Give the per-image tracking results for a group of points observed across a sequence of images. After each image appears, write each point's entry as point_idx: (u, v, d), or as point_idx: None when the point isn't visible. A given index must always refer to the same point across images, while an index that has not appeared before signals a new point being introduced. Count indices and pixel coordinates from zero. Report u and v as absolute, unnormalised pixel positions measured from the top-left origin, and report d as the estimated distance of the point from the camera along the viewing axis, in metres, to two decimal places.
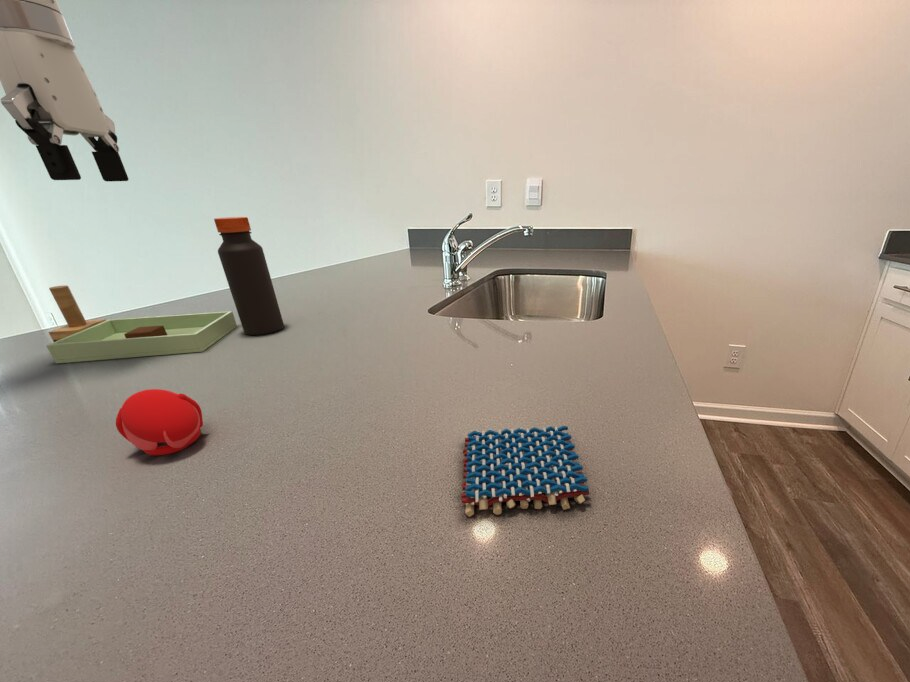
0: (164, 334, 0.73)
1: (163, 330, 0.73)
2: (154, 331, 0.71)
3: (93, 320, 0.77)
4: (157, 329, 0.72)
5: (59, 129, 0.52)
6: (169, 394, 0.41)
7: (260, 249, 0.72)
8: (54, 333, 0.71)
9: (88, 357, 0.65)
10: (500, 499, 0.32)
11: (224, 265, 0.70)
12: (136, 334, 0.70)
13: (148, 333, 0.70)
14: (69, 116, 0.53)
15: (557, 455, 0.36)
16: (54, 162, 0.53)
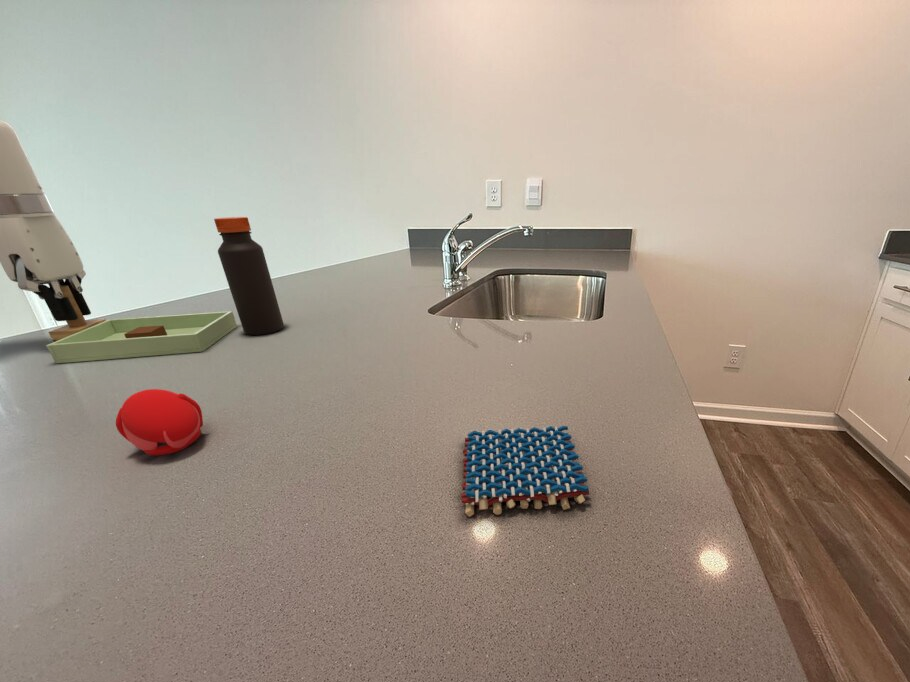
0: (164, 334, 0.73)
1: (163, 330, 0.73)
2: (154, 331, 0.71)
3: (93, 320, 0.77)
4: (157, 329, 0.72)
5: (56, 285, 0.69)
6: (169, 394, 0.41)
7: (260, 249, 0.72)
8: (54, 333, 0.71)
9: (88, 357, 0.65)
10: (500, 499, 0.32)
11: (224, 265, 0.70)
12: (136, 334, 0.70)
13: (148, 333, 0.70)
14: (50, 270, 0.68)
15: (557, 455, 0.36)
16: (58, 310, 0.71)
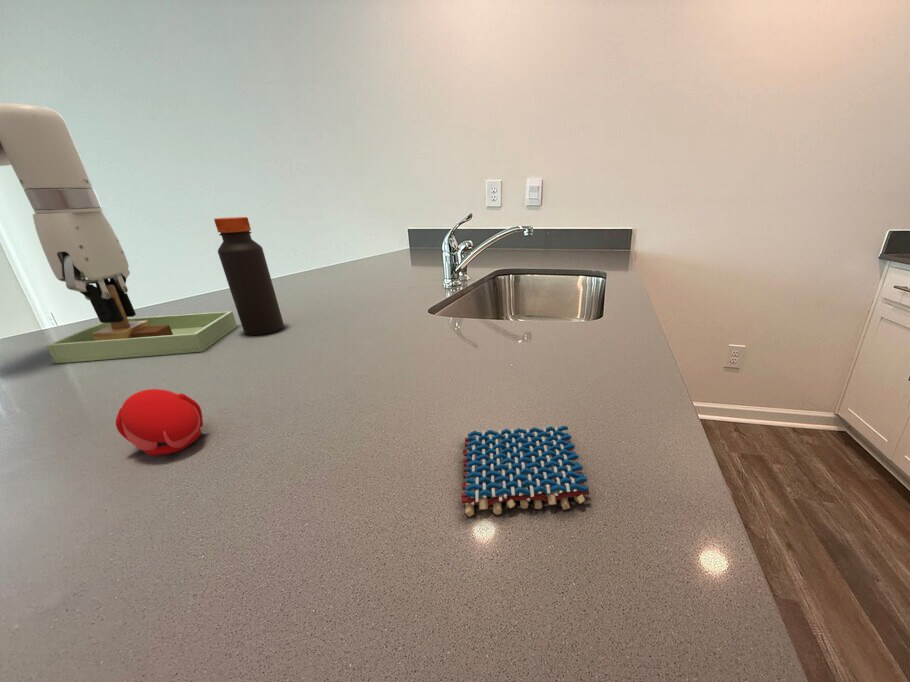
0: (170, 334, 0.74)
1: (169, 330, 0.73)
2: (160, 331, 0.71)
3: (135, 321, 0.73)
4: (163, 329, 0.72)
5: (103, 285, 0.66)
6: (169, 394, 0.41)
7: (260, 249, 0.72)
8: (97, 335, 0.67)
9: (88, 357, 0.65)
10: (500, 499, 0.32)
11: (224, 265, 0.70)
12: (142, 334, 0.70)
13: (154, 333, 0.70)
14: (98, 269, 0.64)
15: (557, 455, 0.36)
16: (104, 311, 0.67)
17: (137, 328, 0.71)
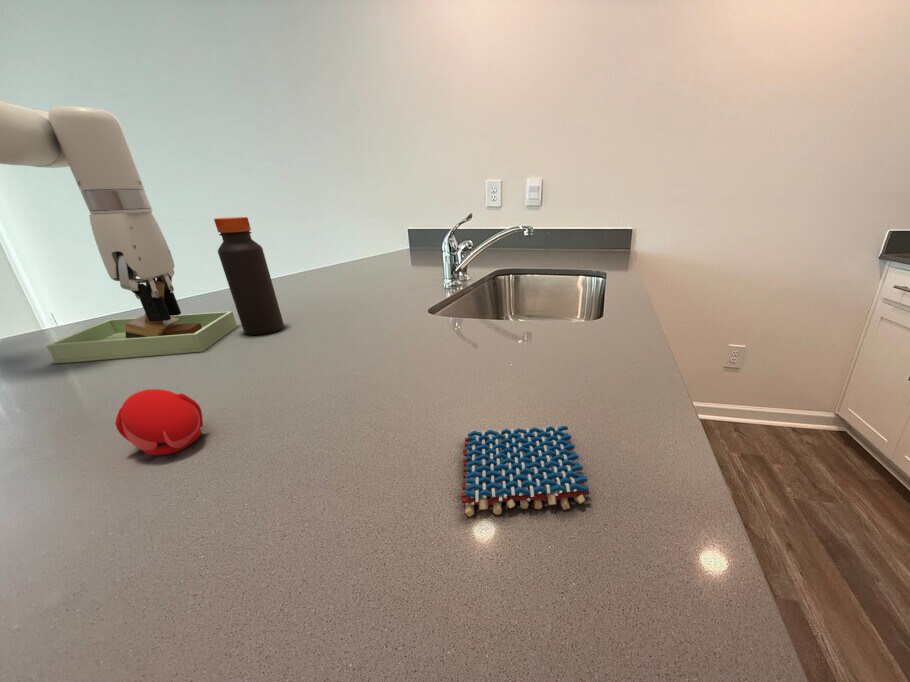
0: None
1: (200, 327, 0.74)
2: (192, 328, 0.72)
3: None
4: (195, 326, 0.73)
5: (152, 284, 0.67)
6: (169, 394, 0.41)
7: (260, 249, 0.72)
8: (131, 326, 0.68)
9: (88, 357, 0.65)
10: (500, 499, 0.32)
11: (224, 265, 0.70)
12: (175, 331, 0.71)
13: (187, 330, 0.71)
14: (149, 269, 0.65)
15: (557, 455, 0.36)
16: (153, 310, 0.68)
17: (169, 326, 0.72)
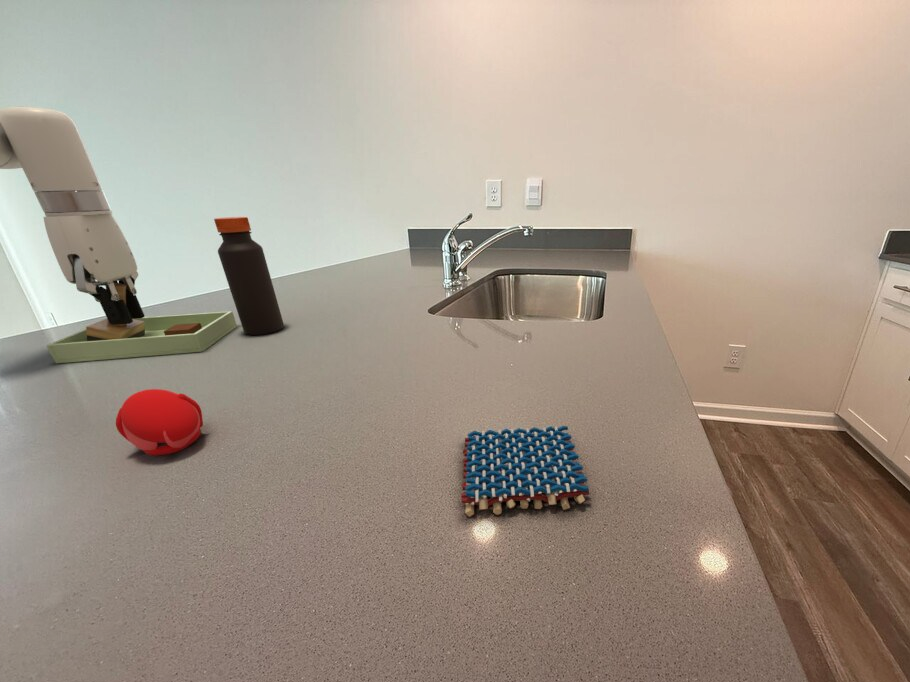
0: None
1: (200, 327, 0.74)
2: (192, 328, 0.72)
3: None
4: (195, 326, 0.73)
5: (112, 287, 0.66)
6: (169, 394, 0.41)
7: (260, 249, 0.72)
8: (92, 329, 0.67)
9: (88, 357, 0.65)
10: (500, 499, 0.32)
11: (224, 265, 0.70)
12: (175, 331, 0.71)
13: (187, 330, 0.71)
14: (108, 271, 0.64)
15: (557, 455, 0.36)
16: (113, 313, 0.67)
17: (133, 329, 0.71)
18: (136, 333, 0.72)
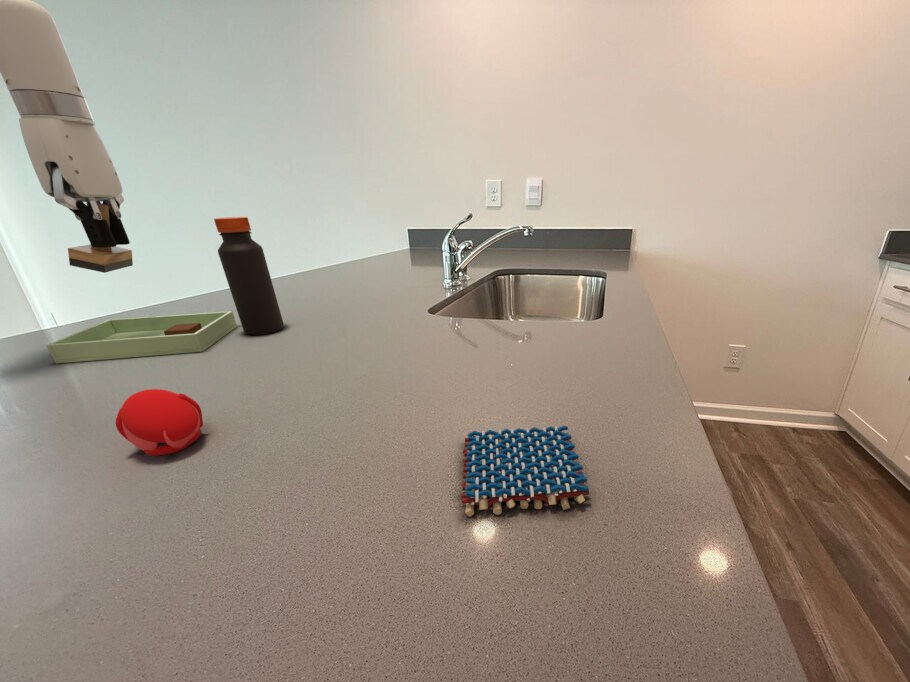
0: None
1: (200, 327, 0.74)
2: (192, 328, 0.72)
3: (118, 248, 0.69)
4: (195, 326, 0.73)
5: (94, 204, 0.62)
6: (169, 394, 0.41)
7: (260, 249, 0.72)
8: (74, 251, 0.63)
9: (88, 357, 0.65)
10: (500, 499, 0.32)
11: (224, 265, 0.70)
12: (175, 331, 0.71)
13: (187, 330, 0.71)
14: (89, 185, 0.60)
15: (557, 455, 0.36)
16: (95, 234, 0.63)
17: (119, 255, 0.67)
18: (122, 261, 0.68)
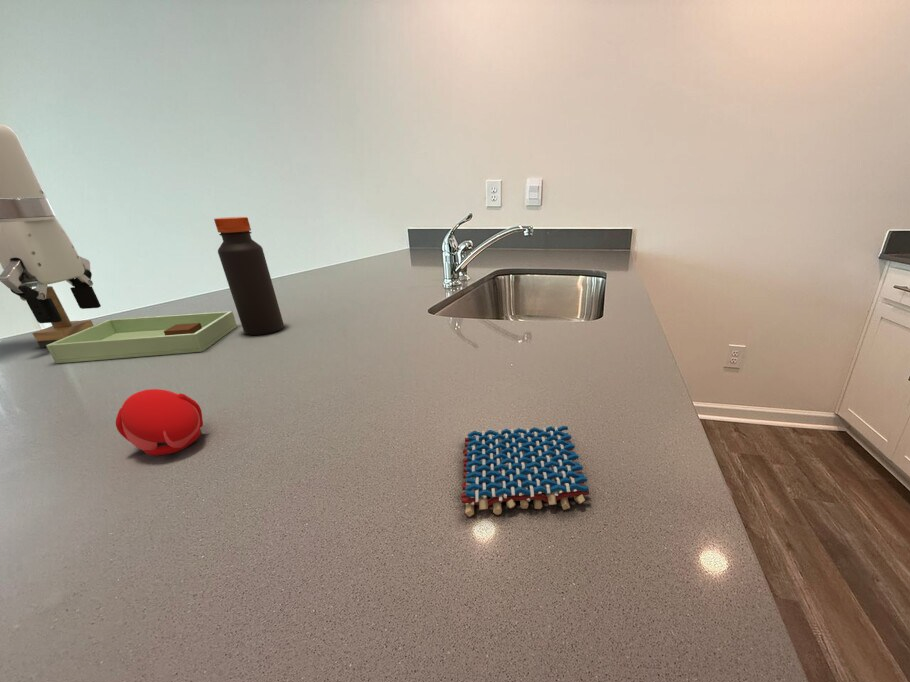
0: None
1: (200, 327, 0.74)
2: (192, 328, 0.72)
3: (78, 321, 0.77)
4: (195, 326, 0.73)
5: (44, 287, 0.67)
6: (169, 394, 0.41)
7: (260, 249, 0.72)
8: (38, 334, 0.71)
9: (88, 357, 0.65)
10: (500, 499, 0.32)
11: (224, 265, 0.70)
12: (175, 331, 0.71)
13: (187, 330, 0.71)
14: (51, 274, 0.68)
15: (557, 455, 0.36)
16: (40, 312, 0.68)
17: (78, 327, 0.75)
18: None
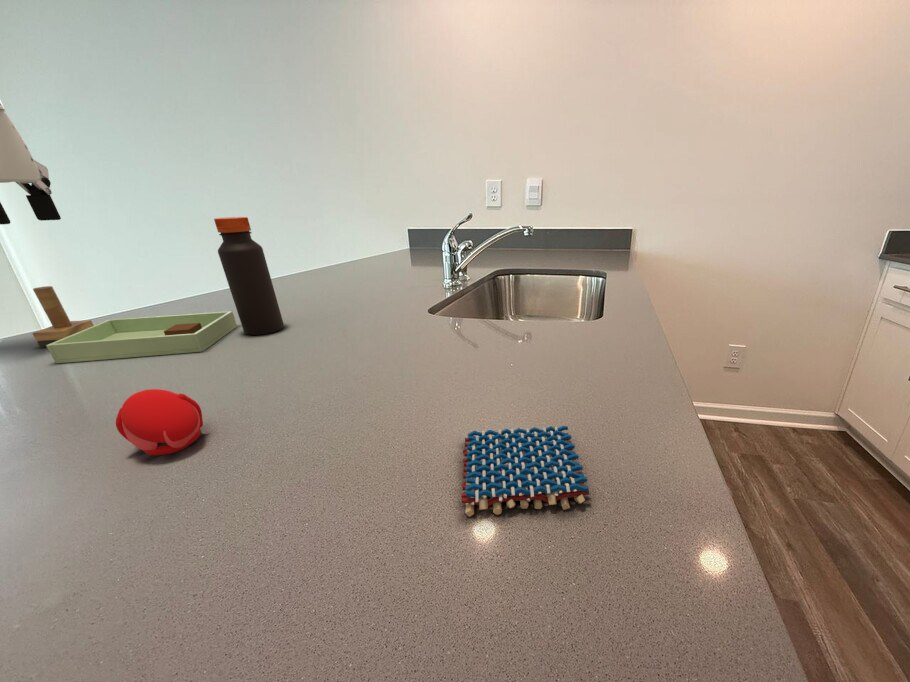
0: None
1: (200, 327, 0.74)
2: (192, 328, 0.72)
3: (78, 321, 0.77)
4: (195, 326, 0.73)
5: None
6: (169, 394, 0.41)
7: (260, 249, 0.72)
8: (38, 334, 0.71)
9: (88, 357, 0.65)
10: (500, 499, 0.32)
11: (224, 265, 0.70)
12: (175, 331, 0.71)
13: (187, 330, 0.71)
14: None
15: (557, 455, 0.36)
16: None
17: (78, 327, 0.75)
18: None
